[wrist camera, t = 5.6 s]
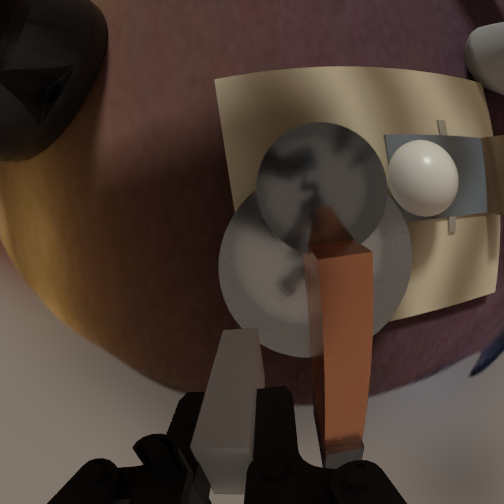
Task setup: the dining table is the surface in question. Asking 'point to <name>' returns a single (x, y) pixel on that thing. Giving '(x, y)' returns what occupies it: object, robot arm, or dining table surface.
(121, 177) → the dining table surface
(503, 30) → the salt shaker
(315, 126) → the grey round-based piece
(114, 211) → the dining table surface
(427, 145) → the ball
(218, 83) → the stand
